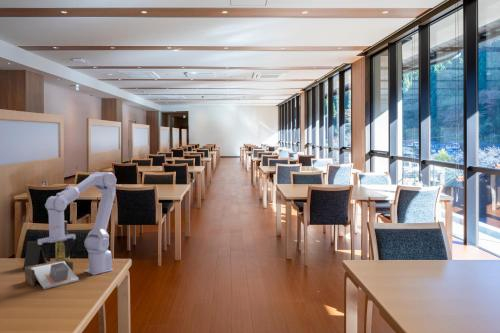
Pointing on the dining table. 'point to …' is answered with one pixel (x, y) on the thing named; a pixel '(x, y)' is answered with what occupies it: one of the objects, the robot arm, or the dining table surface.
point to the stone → (59, 272)
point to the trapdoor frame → (30, 272)
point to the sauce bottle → (61, 247)
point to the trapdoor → (46, 281)
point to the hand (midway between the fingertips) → (57, 259)
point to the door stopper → (34, 254)
